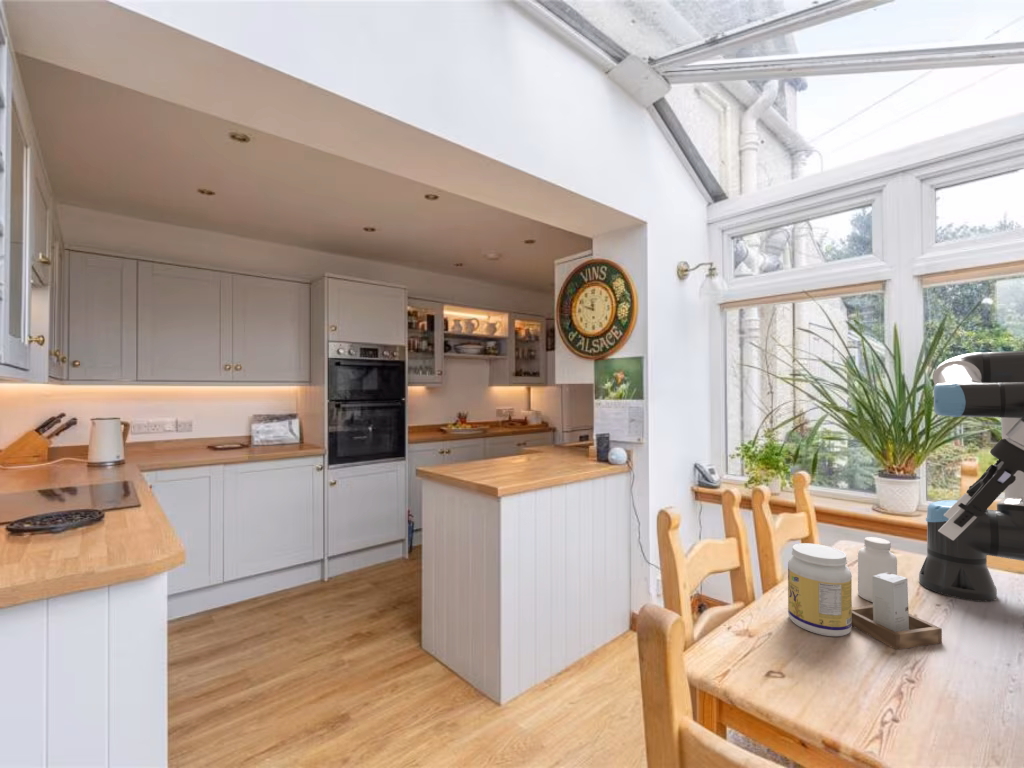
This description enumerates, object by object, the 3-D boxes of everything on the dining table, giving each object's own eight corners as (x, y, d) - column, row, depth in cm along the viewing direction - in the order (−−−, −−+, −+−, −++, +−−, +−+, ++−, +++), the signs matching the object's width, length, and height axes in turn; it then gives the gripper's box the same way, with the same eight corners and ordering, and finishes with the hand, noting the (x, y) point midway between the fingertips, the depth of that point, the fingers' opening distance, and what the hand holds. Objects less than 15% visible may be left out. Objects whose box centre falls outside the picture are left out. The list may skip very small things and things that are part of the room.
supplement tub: (779, 610, 115) (779, 540, 115) (835, 614, 113) (834, 543, 113) (801, 636, 103) (800, 558, 103) (863, 641, 101) (863, 561, 101)
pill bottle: (904, 607, 116) (904, 545, 116) (867, 604, 118) (867, 543, 118) (886, 593, 124) (885, 536, 124) (851, 590, 126) (851, 534, 126)
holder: (885, 616, 112) (885, 603, 112) (941, 642, 100) (941, 628, 100) (843, 621, 109) (843, 608, 109) (896, 649, 97) (896, 634, 97)
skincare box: (895, 640, 101) (894, 583, 101) (871, 630, 105) (871, 575, 105) (910, 633, 104) (909, 578, 104) (887, 624, 108) (886, 571, 108)
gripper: (1056, 471, 81) (965, 557, 90) (1046, 451, 99) (971, 524, 107) (1003, 445, 86) (921, 529, 95) (1002, 430, 103) (934, 502, 112)
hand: (948, 527), depth 101 cm, fingers open, 13 cm apart
